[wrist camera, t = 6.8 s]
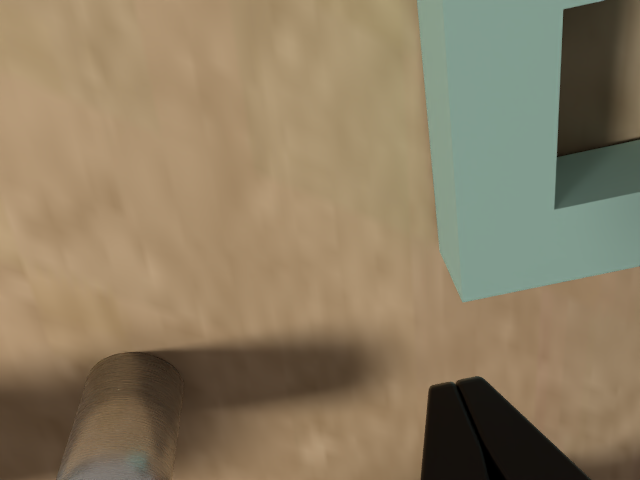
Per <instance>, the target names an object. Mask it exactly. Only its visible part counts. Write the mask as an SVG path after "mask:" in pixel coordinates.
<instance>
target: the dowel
mask: <svg viewBox="0 0 640 480" xmlns="http://www.w3.org/2000/svg"><path fill="white" fill-rule="evenodd" d="M183 392H184V384H183V380H182V377H181V376H180V374H179V372H178V371H177V370H176V369H175V368H174V367H173V366H172V365H170V364H169V363H168V362H166V361H164V360H162V359H160V358H158V357H155V356H152V355H148V354H143V353H122V354H116V355H113V356H110V357H107V358H105V359H103V360H101V361H100V362H98V363H97V364H96V365H95V366H94V367H93V368H92V369H91V371H90V373H89V375H88V378H87V381H86V384H85V388H84V391H83V394H82V397H81V400H80V404H79V407H78V410H77V413H76V417H75V420H74V423H73V426H72V429H71V433H70V436H69V439H68V442H67V446H66V449H65V452H64V455H63V458H62V462H61V465H60V468H59V471H58V474H57V478H56V480H172V477H173V469H174V461H175V454H176V446H177V438H178V430H179V423H180V415H181V407H182V399H183Z"/></svg>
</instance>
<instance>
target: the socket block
mask: <svg viewBox="0 0 640 480" xmlns="http://www.w3.org/2000/svg"><path fill="white" fill-rule="evenodd" d="M599 1H604V0H417V6H418V17H419V28H420V39H421V50H422V61H423V72H424V83H425V94H426V105H427V116H428V127H429V138H430V149H431V160H432V171H433V182H434V194H435V205H436V216H437V227H438V238H439V249H440V253H441V255H442V257H443V260H444V262H445V264H446V266H447V269H448V271H449V273H450V275H451V277H452V280H453V282H454V284H455V286H456V289H457V291H458V293H459V295H460V298H461V300H462V302H467V301H472V300H477V299H482V298H487V297H491V296H496V295H501V294H506V293H511V292H516V291H521V290H526V289H531V288H536V287H540V286H545V285H550V284H555V283H560V282H565V281H570V280H575V279H580V278H584V277H589V276H594V275H599V274H604V273H609V272H614V271H619V270H624V269H629V268H633V267H638V266H640V140H636V141H632V142H627V143H622V144H617V145H613V146H608V147H603V148H598V149H594V150H589V151H584V152H579V153H575V154H570V155H565V156H560V157H557V138H558V116H559V93H560V71H561V49H562V27H563V9H567V8H572V7H576V6H581V5H585V4H590V3H594V2H599Z"/></svg>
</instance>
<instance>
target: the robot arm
mask: <svg viewBox="0 0 640 480" xmlns="http://www.w3.org/2000/svg"><path fill="white" fill-rule="evenodd" d="M421 480H591V479H590V478H589V477H588V476H587V475H586V474H585V473H584V472H583V471H582V470H580V469H579V468H578V467H577V466H576V465H575V464H574V463H573V462H572V461H571V460H570V459H569V458H568V457H567V456H566V455H565V454H563V453H562V452H561V451H560V450H559V449H558V448H557V447H556V446H555V445H554V444H553V443H552V442H551V441H550V440H549V439H547V438H546V437H545V436H544V435H543V434H542V433H541V432H540V431H539V430H538V429H537V428H536V427H535V426H534V425H533V424H532V423H530V422H529V421H528V420H527V419H526V418H525V417H524V416H523V415H522V414H521V413H520V412H519V411H518V410H517V409H516V408H514V407H513V406H512V405H511V404H510V403H509V402H508V401H507V400H506V399H505V398H504V397H503V396H502V395H501V394H500V393H499V392H497V391H496V390H495V389H494V388H493V387H492V386H491V385H490V384H489V383H488V382H487V381H486V380H485V379H483V378H482V377H479V376H476V377H471V378H466V379H461V380H458V381H457V382H456V384H454V383H453V382H446V383H441V384H436V385H432V386H430V388H429V392H428V403H427V414H426V425H425V437H424V448H423V459H422V470H421Z"/></svg>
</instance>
